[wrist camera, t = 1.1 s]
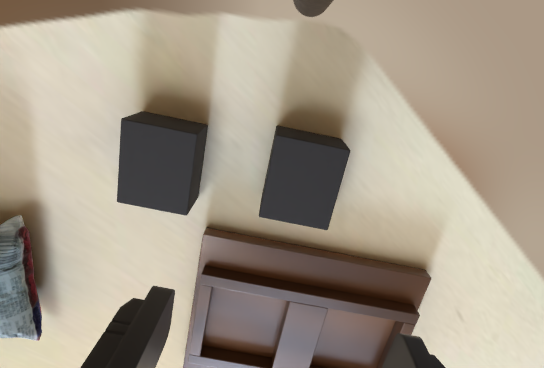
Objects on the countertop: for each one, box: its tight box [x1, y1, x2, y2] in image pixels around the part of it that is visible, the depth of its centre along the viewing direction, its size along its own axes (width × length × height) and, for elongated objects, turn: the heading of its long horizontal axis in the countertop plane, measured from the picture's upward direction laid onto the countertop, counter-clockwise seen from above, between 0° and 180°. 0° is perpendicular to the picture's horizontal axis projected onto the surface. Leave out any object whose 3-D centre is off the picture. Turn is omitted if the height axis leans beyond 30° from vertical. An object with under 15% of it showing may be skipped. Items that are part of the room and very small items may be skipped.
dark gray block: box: [117, 112, 208, 215], centre depth 25 cm, size 6×5×4 cm
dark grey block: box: [259, 126, 350, 230], centre depth 25 cm, size 6×5×4 cm
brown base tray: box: [183, 228, 431, 368], centre depth 30 cm, size 15×19×2 cm
